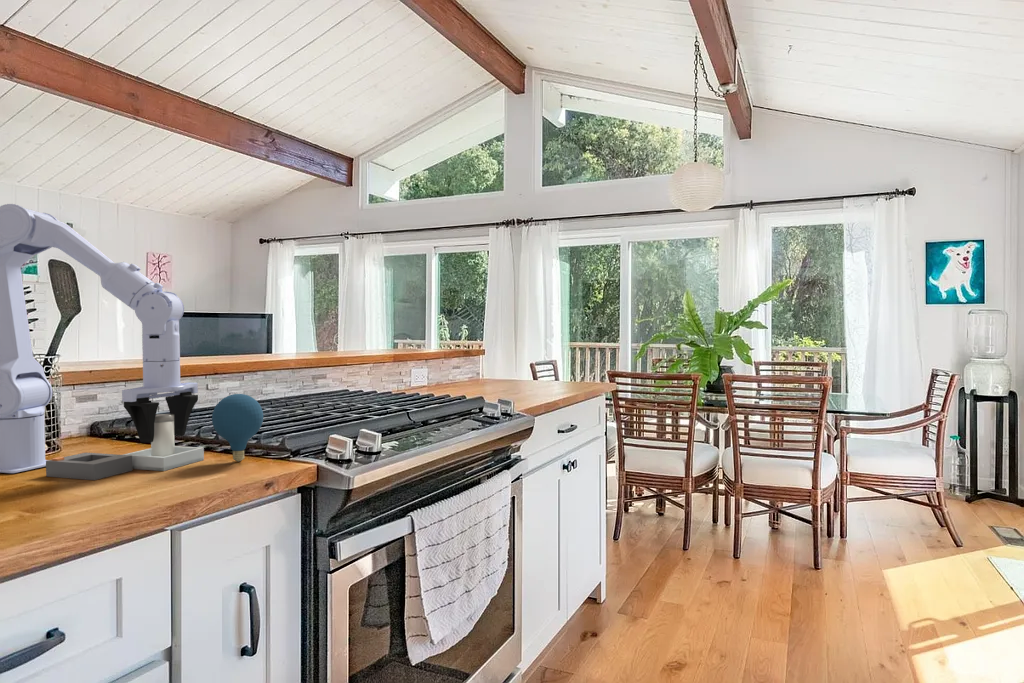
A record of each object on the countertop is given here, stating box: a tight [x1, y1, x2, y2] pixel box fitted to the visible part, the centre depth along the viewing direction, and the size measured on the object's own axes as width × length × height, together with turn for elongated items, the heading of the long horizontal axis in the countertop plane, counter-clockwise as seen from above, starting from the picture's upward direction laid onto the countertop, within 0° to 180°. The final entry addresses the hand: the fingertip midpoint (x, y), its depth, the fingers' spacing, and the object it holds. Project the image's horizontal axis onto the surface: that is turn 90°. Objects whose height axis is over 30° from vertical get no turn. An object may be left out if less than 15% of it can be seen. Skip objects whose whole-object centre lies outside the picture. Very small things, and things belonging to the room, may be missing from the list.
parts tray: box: [122, 445, 205, 472], centre depth 112 cm, size 9×9×2 cm
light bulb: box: [211, 393, 264, 463], centre depth 114 cm, size 8×8×12 cm
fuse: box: [150, 413, 176, 457], centre depth 112 cm, size 4×4×8 cm
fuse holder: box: [45, 452, 133, 481], centre depth 105 cm, size 10×7×3 cm
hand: (163, 438), depth 112 cm, fingers open, 6 cm apart
